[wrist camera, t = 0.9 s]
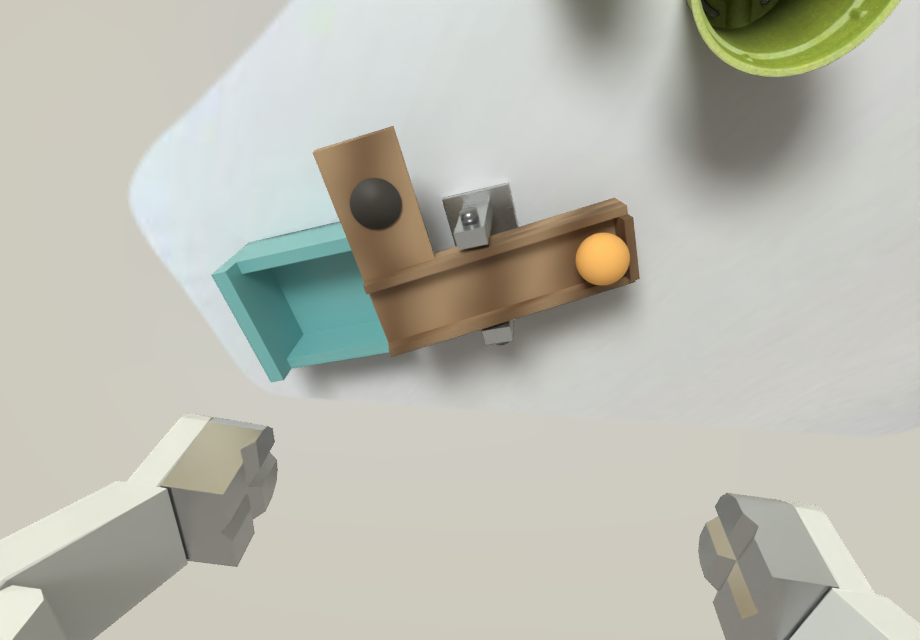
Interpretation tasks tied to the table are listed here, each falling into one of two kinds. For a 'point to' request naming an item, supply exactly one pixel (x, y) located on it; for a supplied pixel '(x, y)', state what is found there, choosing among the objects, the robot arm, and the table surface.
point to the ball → (602, 259)
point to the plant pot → (787, 32)
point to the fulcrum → (482, 232)
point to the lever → (453, 251)
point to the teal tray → (301, 300)
